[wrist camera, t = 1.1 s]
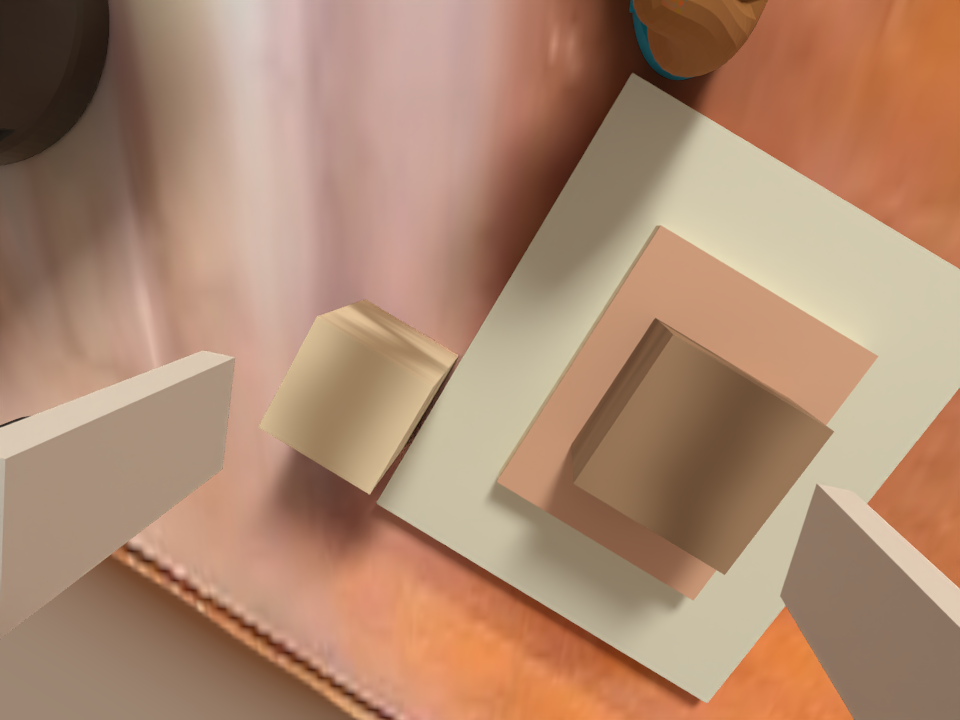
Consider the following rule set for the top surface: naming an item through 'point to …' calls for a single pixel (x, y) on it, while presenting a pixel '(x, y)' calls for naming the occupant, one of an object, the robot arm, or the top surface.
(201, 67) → the top surface
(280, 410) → the maple block
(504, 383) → the board
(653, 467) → the walnut block
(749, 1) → the toy
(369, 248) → the top surface
